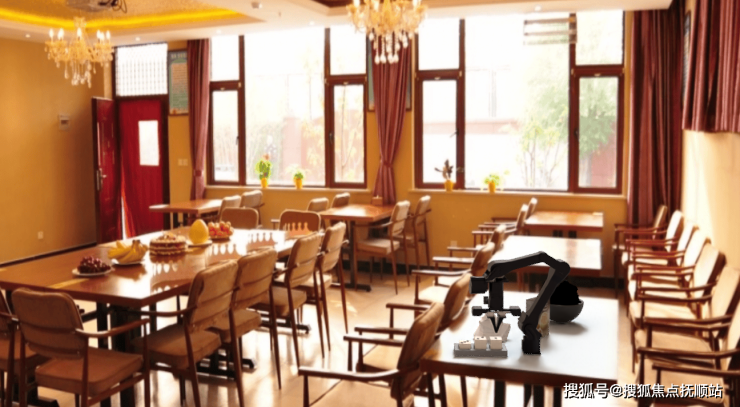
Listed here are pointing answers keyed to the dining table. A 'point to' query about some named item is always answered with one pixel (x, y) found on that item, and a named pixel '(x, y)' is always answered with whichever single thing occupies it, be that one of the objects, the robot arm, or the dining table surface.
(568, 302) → the coal bowl
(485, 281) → the robot arm
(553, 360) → the dining table surface
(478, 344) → the key two dots
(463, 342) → the key three dots
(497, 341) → the key one dot
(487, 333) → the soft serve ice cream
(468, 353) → the key board
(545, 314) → the coffee box
